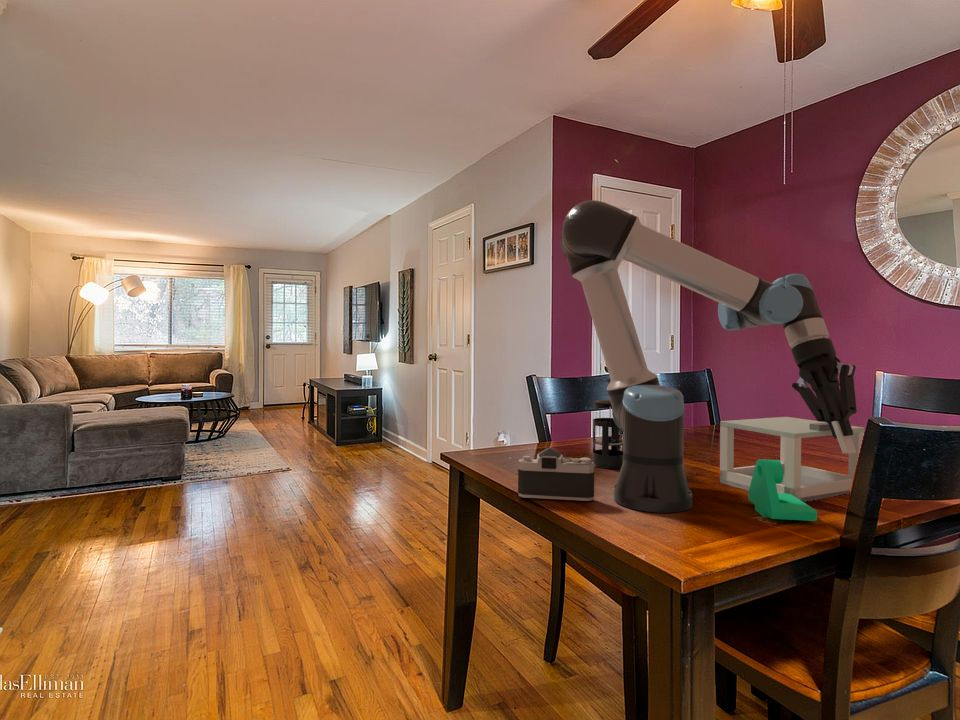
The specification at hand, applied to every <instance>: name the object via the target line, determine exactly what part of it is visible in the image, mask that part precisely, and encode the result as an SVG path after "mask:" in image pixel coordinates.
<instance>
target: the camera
mask: <svg viewBox="0 0 960 720" xmlns="http://www.w3.org/2000/svg"><path fill="white" fill-rule="evenodd" d="M592 461H593V458H589V457H585V456H584V457H580V458H577V457H576V458H572V457H564V455H563V454H562V453H561V452H558V451H557V450H555V449H554V448H552V447H548V448H546V449H544V450H542V451H540V452H538V453H537V456H536V459H534V458H531V456H530V455H523V456H522V458H521V459H519V460H518V469H517V477H518V478H517V479H518V480H517V494H518V496H519V497H521V498H526V499H527V498H528V499H546V500H562V501H563V500H565V501H582V502H583V501H585V502H590V501H594V499H595V467H596V465H595V464H594V463H593V462H592ZM594 465H595V466H594Z"/></svg>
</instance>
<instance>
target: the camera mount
mask: <svg viewBox="0 0 960 720" xmlns="http://www.w3.org/2000/svg"><path fill="white" fill-rule="evenodd" d="M754 466H755V469H754V473H753V476H752V480H751V484H750V488H749V491H747V492H748V493H747V497H748V498H747V499H748V501H749V502H750V503H752V504H753V505H754V511H756V512H757V513H758V514H759V515H760V516H762V517H763V518H769V519H771V520H772V519H773V520H789V521H792V520H793V521H805V522H806V521H807V522H808V521H810V522H816V521H818V510H817V509H815V508H813V507H812V506H810V505H808V504H807V503H806V502H802V501H801V500H799V499H798V498H796V497H794V496H793V495H791V494H785V493H777V488H776V484H781V483H782V481H783V467H782V464H781V462H780V460H779V459H765V458H764V459H763V458H761V459H757V460H756V462H755V465H754Z"/></svg>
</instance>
